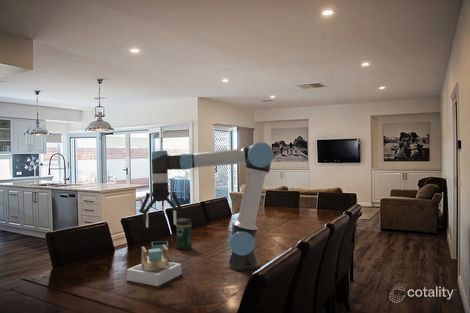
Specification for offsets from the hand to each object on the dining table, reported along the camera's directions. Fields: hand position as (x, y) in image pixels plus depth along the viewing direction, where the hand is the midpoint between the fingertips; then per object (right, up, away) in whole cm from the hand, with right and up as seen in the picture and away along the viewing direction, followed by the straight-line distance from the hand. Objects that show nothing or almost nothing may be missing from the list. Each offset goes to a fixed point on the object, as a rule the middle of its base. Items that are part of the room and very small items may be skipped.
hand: (161, 225), depth 174 cm
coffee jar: (+4, -24, +50) cm, 56 cm away
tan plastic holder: (-2, -18, -4) cm, 19 cm away
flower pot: (-6, -24, +26) cm, 36 cm away
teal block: (-2, -15, -4) cm, 16 cm away
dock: (-2, -24, -4) cm, 24 cm away
